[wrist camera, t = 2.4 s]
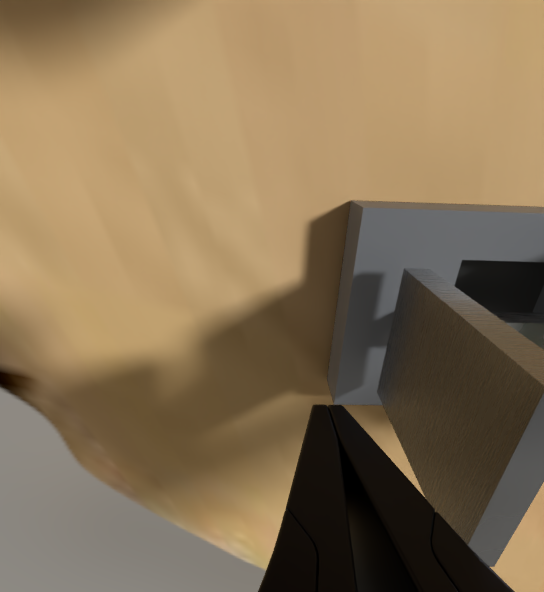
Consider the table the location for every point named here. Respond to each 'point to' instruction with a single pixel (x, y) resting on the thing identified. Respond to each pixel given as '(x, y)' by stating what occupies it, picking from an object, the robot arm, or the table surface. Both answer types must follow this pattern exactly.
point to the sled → (467, 406)
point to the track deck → (426, 255)
